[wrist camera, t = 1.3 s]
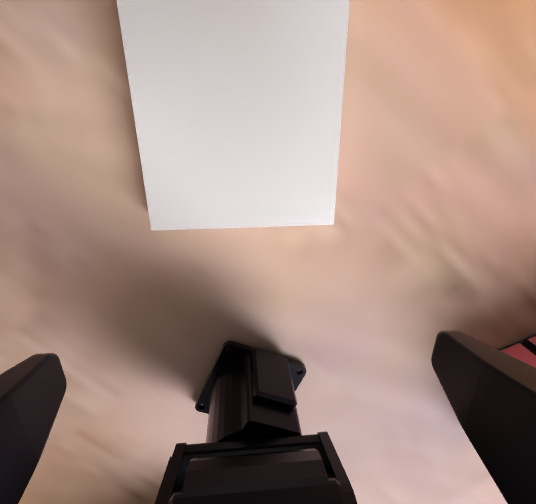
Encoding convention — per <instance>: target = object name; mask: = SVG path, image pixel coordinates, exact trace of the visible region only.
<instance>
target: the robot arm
mask: <svg viewBox="0 0 536 504" xmlns="http://www.w3.org/2000/svg"><path fill="white" fill-rule="evenodd" d="M227 348H232V349H231V350H228V349H227ZM431 361H432V366H433V368H434V371H435V373H436V375H437V377H438V379H439V381H440V383H441V385H442V387H443V389H444V391H445V393H446V396H447V398H448V400H449V402H450V404H451V406H452V408H453V410H454V412H455V414H456V416H457V418H458V420H459V422H460V424H461V426H462V428H463V430H464V431H465V433H466V435H467V437H468V438H469V440H470V442H471V443H472V445H473V447H474V448H475V450H476V452H477V453H478V455H479V457H480V458H481V460H482V462H483V463H484V465H485V467H486V468H487V470H488V472H489V473H490V475H491V477H492V478H493V480H494V482H495V483H496V485H497V487H498V488H499V490H500V492H501V493H502V495H503V497H504V498H505V500H506V502H507V503H508V504H536V367H534V366H532V365H529V364H527V363H525V362H523V361H521V360H519V359H517V358H515V357H512V356H510V355H508V354H506V353H504V352H502V351H500V350H498V349H495V348H493V347H491V346H489V345H487V344H485V343H483V342H481V341H479V340H476V339H474V338H472V337H470V336H468V335H466V334H464V333H462V332H459V331H456V330H450V331H441V332H439V333H438V334H437V337H436V341H435V345H434V349H433V353H432V358H431ZM299 369H301V370H300V371H297V370H299ZM305 374H306V368H305V365H304V364H302V363H299V362H296V361H293V360H290V359H287V358H285V357H282V356H279V355H276V354H273V353H269V352H266V351H263V350H260V349H255V348H252V347H249V346H245V345H242V344H239V343H236V342H233V341H228V342H225V343H224V344H223V346H222V348H221V350H220V352H219V355H218V357H217V359H216V361H215V363H214V365H213V367H212V369H211V371H210V373H209V375H208V377H207V379H206V381H205V384H204V386H203V388H202V390H201V392H200V394H199V396H198V398H197V400H196V405H195V408H196V410H197V411H199V412H203V413H207V414H209V419H208V429H207V439H206V443H201V444H188V445H187V444H186V443H177V444H176V446H175V449H174V452H173V455H172V457H170V459H169V462H168V465H167V468H166V471H165V474H164V477H163V480H162V483H161V486H160V489H159V492H158V495H157V498H156V501H155V504H357V501H356V498H355V495H354V491H353V489H352V486H351V484H350V481H349V479H348V477H347V475H346V472H345V470H344V468H343V466H342V464H341V461H340V459H339V457H338V455H337V453H336V450H335V448H334V446H333V444H332V442H331V439H330V437H329V435H328V433H327V432H318V434H314V435H302V433H301V428H300V424H299V419H298V414H297V409H296V405H297V401H296V396H295V391H296V389H297V387H298V386H299V384H300V382H301V381H302V379H303V377H304V376H305ZM65 391H66V378H65V375H64V372H63V369H62V366H61V363H60V360H59V357H58V356H57V355H56V354H54V353H45V354H35V355H33V356H31V357H29V358H28V359H26V360H24V361H23V362H21V363H19V364H17V365H16V366H14V367H12V368H11V369H9V370H7V371H6V372H4V373H2V374H0V504H18V503H19V501H20V499H21V497H22V495H23V493H24V491H25V489H26V487H27V485H28V483H29V481H30V479H31V477H32V475H33V472H34V470H35V468H36V466H37V464H38V462H39V459H40V457H41V454H42V452H43V449H44V447H45V444H46V442H47V439H48V436H49V434H50V431H51V428H52V426H53V423H54V420H55V418H56V415H57V412H58V410H59V407H60V404H61V402H62V399H63V397H64V394H65ZM201 404H203V405H201Z"/></svg>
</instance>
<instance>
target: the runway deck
mask: <svg viewBox="0 0 536 504" xmlns="http://www.w3.org/2000/svg"><path fill="white" fill-rule="evenodd" d="M349 1H350V0H117V7H118V13H119V20H120V27H121V33H122V40H123V46H124V53H125V60H126V66H127V73H128V80H129V86H130V93H131V100H132V106H133V113H134V119H135V126H136V133H137V139H138V146H139V153H140V159H141V166H142V173H143V179H144V186H145V192H146V199H147V206H148V212H149V219H150V226H151V231H155V230H185V229H214V228H244V227H273V226H303V225H333V224H334V212H335V198H336V184H337V170H338V156H339V142H340V128H341V114H342V100H343V86H344V71H345V57H346V43H347V29H348V15H349Z"/></svg>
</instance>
